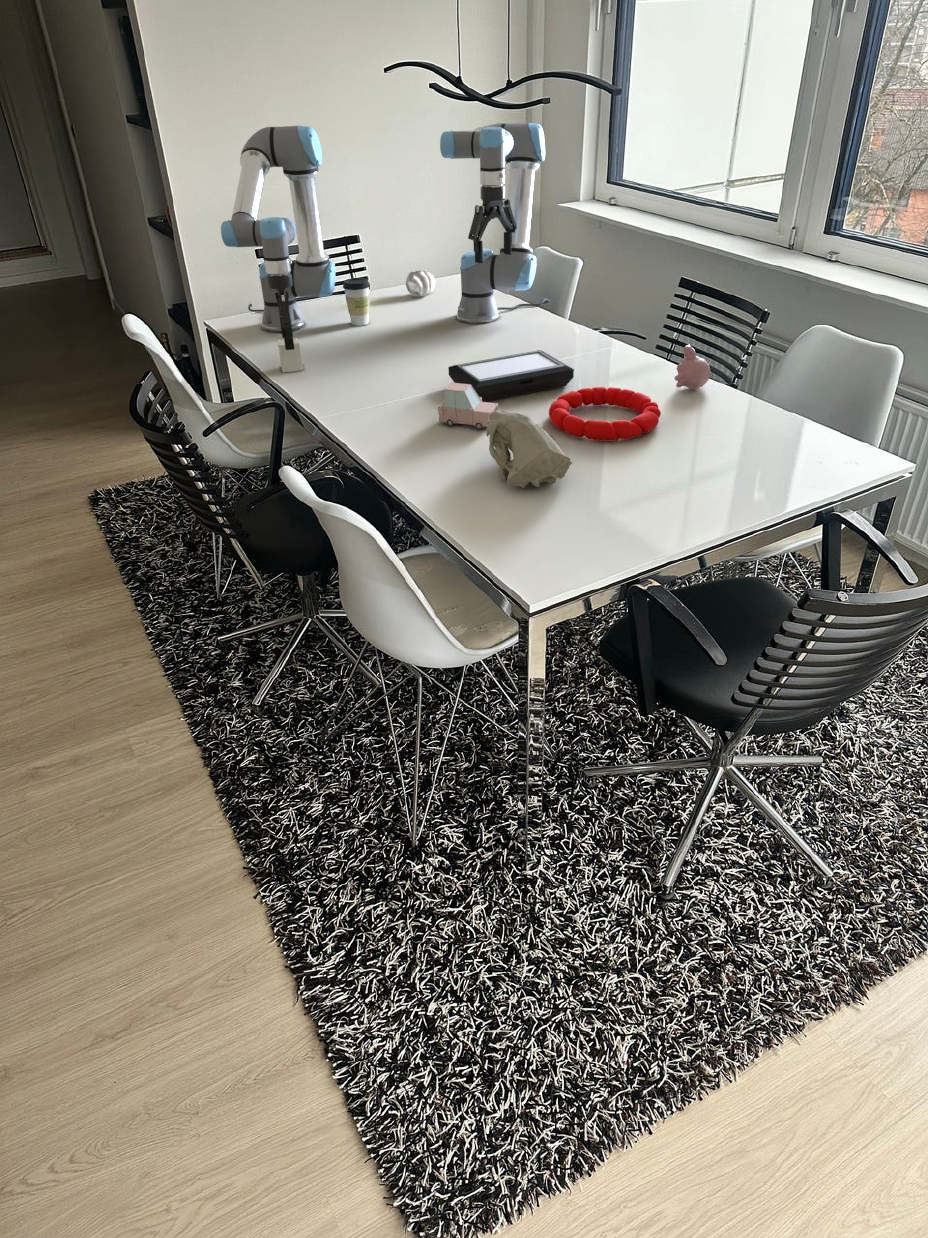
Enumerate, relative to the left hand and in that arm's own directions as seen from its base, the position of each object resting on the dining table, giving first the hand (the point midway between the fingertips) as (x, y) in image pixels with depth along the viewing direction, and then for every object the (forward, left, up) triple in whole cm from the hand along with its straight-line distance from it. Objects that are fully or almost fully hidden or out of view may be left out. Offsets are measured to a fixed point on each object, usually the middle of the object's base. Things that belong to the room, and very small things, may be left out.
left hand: (288, 343), depth 283 cm
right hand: (-5, +68, +20) cm, 71 cm away
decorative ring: (+67, +84, -8) cm, 107 cm away
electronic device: (+33, +65, -8) cm, 73 cm away
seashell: (-75, +53, -8) cm, 92 cm away
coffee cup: (-44, +26, -8) cm, 52 cm away
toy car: (+59, +47, -8) cm, 76 cm away
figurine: (+49, +116, -8) cm, 126 cm away
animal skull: (+92, +54, -8) cm, 107 cm away
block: (0, 0, -8) cm, 8 cm away
